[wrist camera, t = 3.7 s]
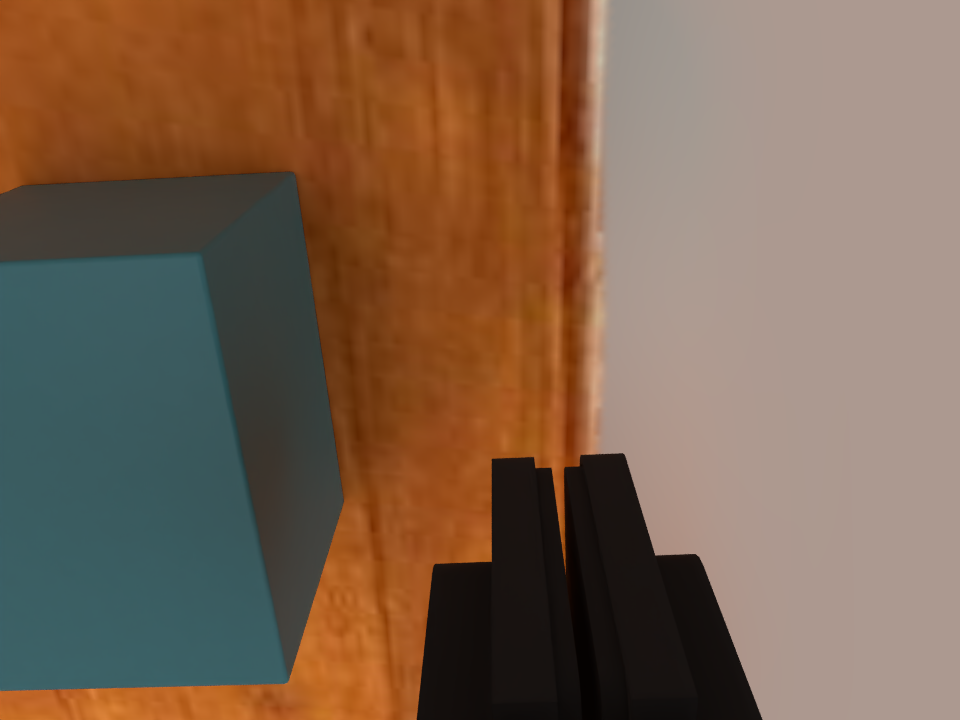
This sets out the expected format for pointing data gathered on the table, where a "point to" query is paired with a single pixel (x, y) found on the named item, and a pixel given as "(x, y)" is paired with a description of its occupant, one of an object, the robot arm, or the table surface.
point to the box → (159, 434)
